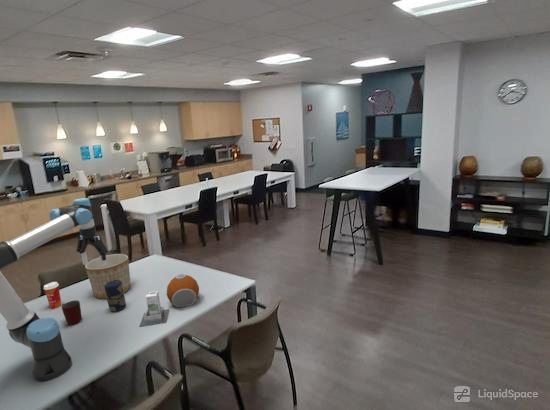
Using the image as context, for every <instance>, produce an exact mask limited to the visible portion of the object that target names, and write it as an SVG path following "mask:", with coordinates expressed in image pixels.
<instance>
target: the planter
mask: <svg viewBox="0 0 550 410" xmlns="http://www.w3.org/2000/svg"><path fill="white" fill-rule="evenodd" d="M105 255H106V263H107V265H105V266H103V267H102V266H101V261H100V256H99V257H96V258H94V259H92V260H89V261H88V263H87V264H85V265H84V268H85V271H86V274H87V277H88V280H89V283H90V287H91V289H92V292H93V295H94V296H95V297H96V298H99V299H107V296H106V291H105V287H104V286H105V284H106V283H108V282H110V281H113V280H120V281H121V282H122V287H123V291H124V294H125V293H126V292H127V291H128V290H130V288H131V272H130V263H129V256H128V255H127V254H124V253H114V254H113V253H112V254H108V255H107V254H105Z"/></svg>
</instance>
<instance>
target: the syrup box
mask: <svg viewBox="0 0 550 410" xmlns="http://www.w3.org/2000/svg"><path fill="white" fill-rule="evenodd" d="M145 299H146V304H147V305H146V306H147V309H148V311H149V316H151V315H158V314H160V312H161V307H162V305H161V300H160V295H159V291H158V290H156V291H148V292H147V294H146V295H145Z"/></svg>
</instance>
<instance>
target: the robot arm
mask: <svg viewBox="0 0 550 410" xmlns="http://www.w3.org/2000/svg"><path fill="white" fill-rule="evenodd" d="M48 215H49V219H50V220H49V221H47V222H45V223H43V224H41V225H39V226H37V227H36V228H35V227H34V228H33V229H31V230H29V231H27V232H25V233H23V234H21V235H19V236H17V237H14V238H13V239H11V240H8V241H6V240H2V241H0V314H1V316H2V317H3V318H4V320H5V321H6V322H7V323H6V327H5V328H6V329H7V331H8V335H9V336H10V338H11V339H12V340H13V341H14V342H15V343H19V344H21V345H23V346H25V347H28V348H29V349H31V353H32V356H33V367H32V368H33V369H32V376H33V379H34V380H35V381H38V382H46V381H50V380H54V379H55V378H58V377H60V376H62V375H64V374H65V373H66V372H67V371H68V370H69V369H70V368H71V366H72V365H73V360H72V357H71V356H70V354H69V353H68V352H67V351H66V349H65V346H64V342H63V338H62V334H61V329H60V325H59V323H58V321H57V320H56V319H55V318H53V317H42V318H40V317H39V315H38V314H37V312H36V311H35V310H34V309H28V306H26V304H25V303H24V301H22V299H21V298H20V297H19V294H17V292H16V290H15V289H14V288H13V286H12V285H11V284H10V282H9V281H8V280H7V278H6V277H5V276H4V274H3V273H2V271H1V270H2V269H4V268H7V267H8V266H10V265H12V264H14V263H15V262H18V261H19V258H20V257H22V256H23V255H25V254H28V253H29V252H31V251H33V250H35V249H36V248H39V247H40V246H42V245H44V244H46V243H48V242H49V241H52V240H54V239H55V238H57V237H59V236H61V235H63V234H65V233H67V232H68V231H70V230H72V229H74V228H77V227H78V229H79V230H78V231H79V235H78V236H77V245H76V252H77V253H79V254H80V258H81V260H82V265H83V266H85V265H86V264H87V263H88V262H89V259H88V255H87V251H86V249H87V247H88V245H91V246H92V247H94V248H95V250H96V251H97V252H98V254H99V257H100V261H101V266H102V267H103V266H105V265H107V263H106V255H107V253H109V251H108V249H107V247H106V246H105V243H104V242H103V240H102V238H101V235H97V236H96V233H97V230H96V225H95V220H94V215H93V210H92V204H91V201H90V199H89V198H87V197H84V198H83V197H81V198H76V199H74V200H73V201H72V204H70V205H67V206H61V207H56V208H54V209H51V210H50V211H49V214H48Z"/></svg>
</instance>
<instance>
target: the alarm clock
mask: <svg viewBox="0 0 550 410" xmlns="http://www.w3.org/2000/svg"><path fill="white" fill-rule="evenodd" d="M199 292H200V286H199V284H198V282H197V280H196V279H195V278H194V277H193V276H190V275H187V274H184V273H180V274H177V275H176V276H175V277H173V278H172V279H171V280H170V282H169V283H168V285H167V286H166V297H167V299H168V301H169V303H171V304H172V305H174V307H177V308H182V307H186V306H190V305H193V304H195V302H196V300H197V299H198V297H199V294H200V293H199Z"/></svg>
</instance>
